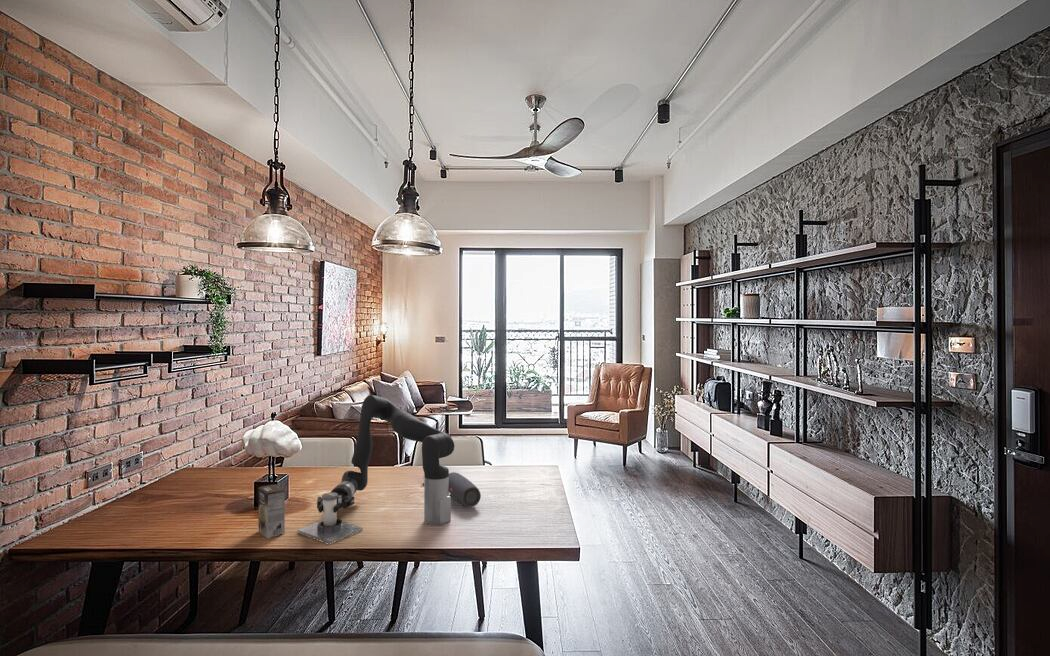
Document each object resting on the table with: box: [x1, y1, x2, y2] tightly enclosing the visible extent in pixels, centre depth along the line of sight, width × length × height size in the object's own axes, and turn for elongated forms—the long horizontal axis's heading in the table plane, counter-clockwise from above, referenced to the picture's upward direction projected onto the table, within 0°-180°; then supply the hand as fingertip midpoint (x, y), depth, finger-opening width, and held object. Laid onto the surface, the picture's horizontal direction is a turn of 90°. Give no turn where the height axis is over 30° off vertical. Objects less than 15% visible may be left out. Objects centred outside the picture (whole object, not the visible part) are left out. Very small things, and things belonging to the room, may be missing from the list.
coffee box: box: [257, 483, 286, 539], centre depth 188 cm, size 9×6×16 cm
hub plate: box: [296, 518, 363, 545], centre depth 189 cm, size 18×14×3 cm
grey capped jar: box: [321, 491, 338, 527], centre depth 189 cm, size 5×5×11 cm
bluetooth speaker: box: [449, 471, 482, 508], centre depth 222 cm, size 23×9×10 cm, turn 27°
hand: (327, 509), depth 186 cm, fingers closed on grey capped jar, 4 cm apart
